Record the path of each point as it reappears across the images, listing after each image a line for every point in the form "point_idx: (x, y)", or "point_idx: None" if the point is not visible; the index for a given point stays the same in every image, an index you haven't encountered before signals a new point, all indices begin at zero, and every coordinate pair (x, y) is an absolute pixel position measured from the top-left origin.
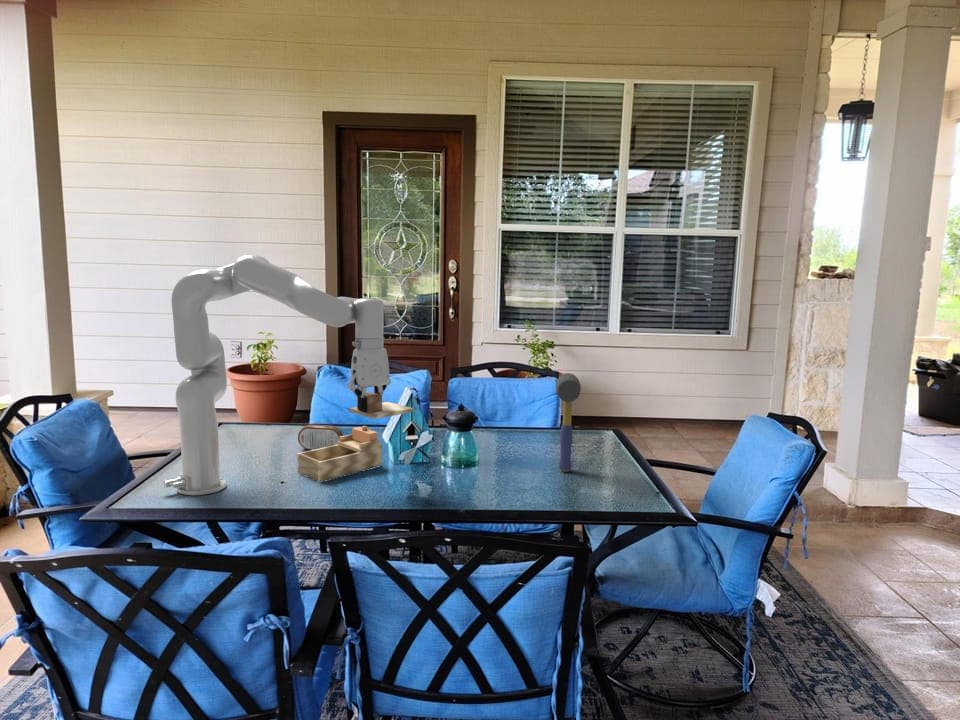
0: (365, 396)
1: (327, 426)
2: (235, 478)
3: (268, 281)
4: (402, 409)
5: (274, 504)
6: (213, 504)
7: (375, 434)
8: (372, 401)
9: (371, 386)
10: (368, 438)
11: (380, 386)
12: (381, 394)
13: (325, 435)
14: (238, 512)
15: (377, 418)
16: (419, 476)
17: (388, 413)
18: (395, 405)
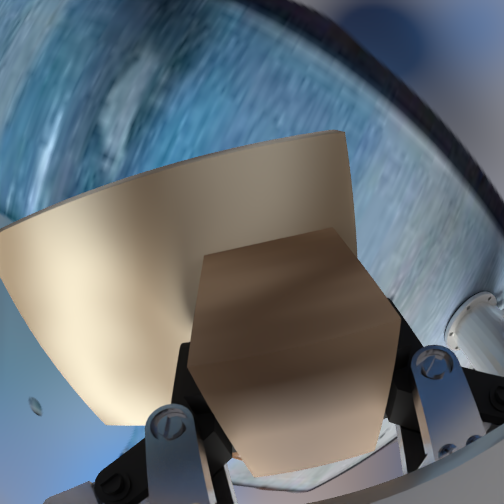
0: (386, 381)
1: (232, 455)
2: (424, 344)
3: None
4: (39, 239)
5: (452, 195)
6: (496, 248)
7: None
8: (343, 289)
9: (414, 473)
10: None
11: (178, 499)
12: (168, 414)
13: None
14: (494, 195)
15: (301, 135)
16: None
17: (178, 165)
18: (71, 355)
